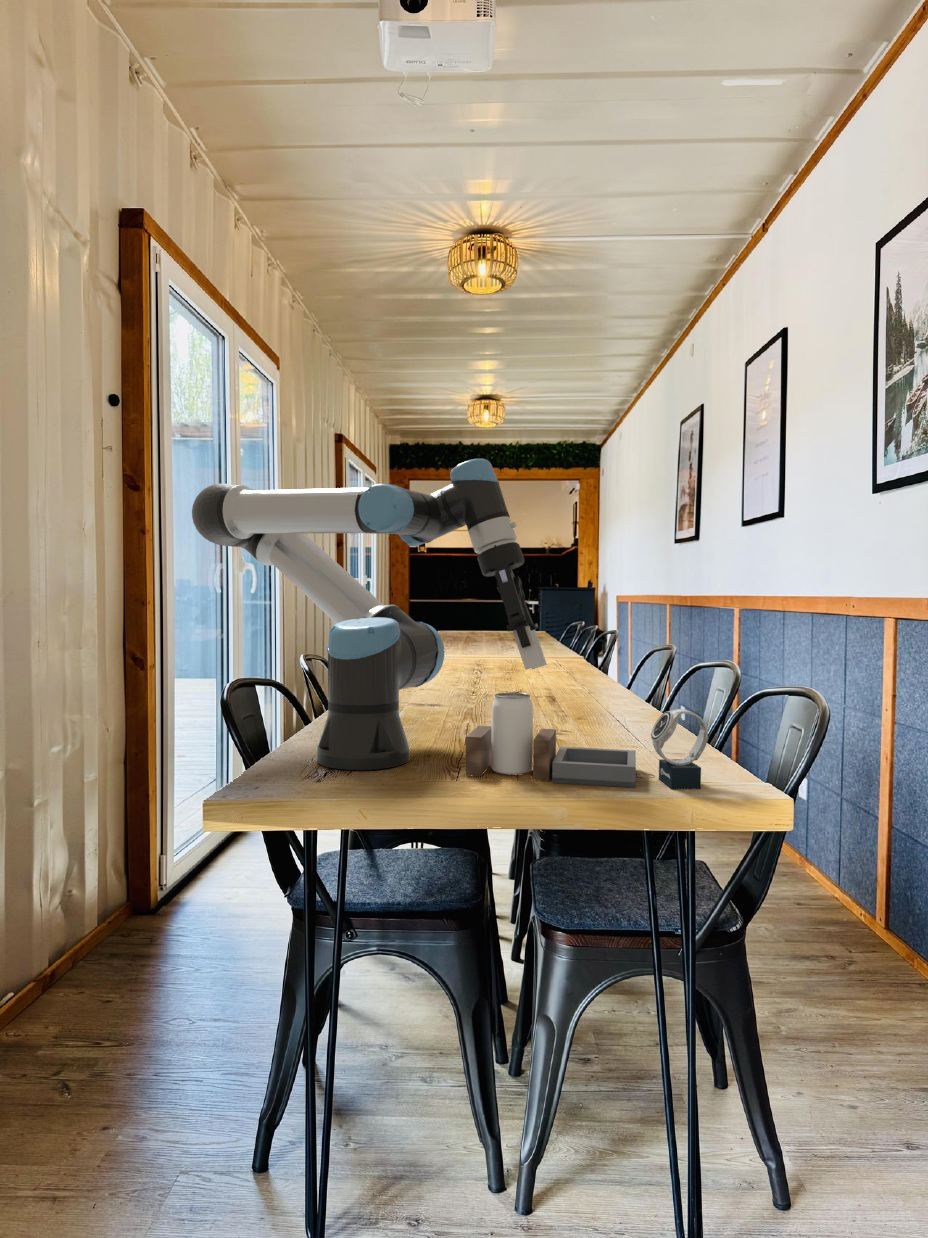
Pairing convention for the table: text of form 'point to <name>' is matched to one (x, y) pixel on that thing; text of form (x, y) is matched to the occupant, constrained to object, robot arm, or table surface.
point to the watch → (678, 770)
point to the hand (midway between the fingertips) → (536, 667)
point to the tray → (595, 767)
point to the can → (512, 733)
